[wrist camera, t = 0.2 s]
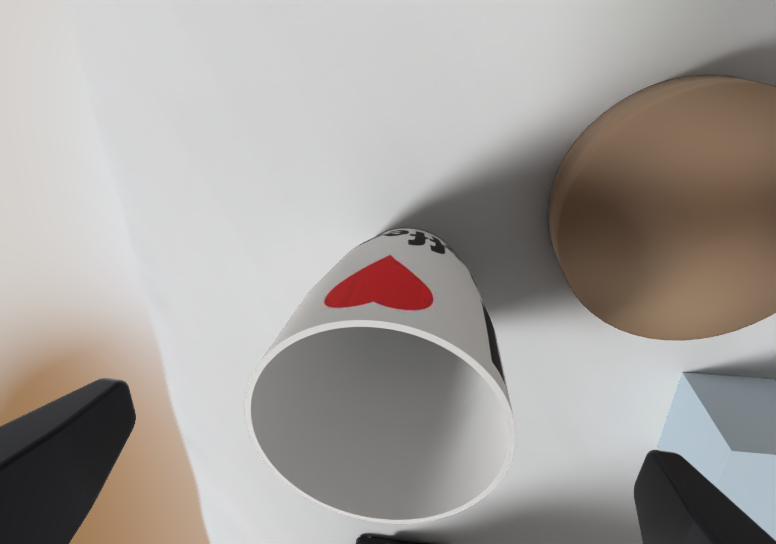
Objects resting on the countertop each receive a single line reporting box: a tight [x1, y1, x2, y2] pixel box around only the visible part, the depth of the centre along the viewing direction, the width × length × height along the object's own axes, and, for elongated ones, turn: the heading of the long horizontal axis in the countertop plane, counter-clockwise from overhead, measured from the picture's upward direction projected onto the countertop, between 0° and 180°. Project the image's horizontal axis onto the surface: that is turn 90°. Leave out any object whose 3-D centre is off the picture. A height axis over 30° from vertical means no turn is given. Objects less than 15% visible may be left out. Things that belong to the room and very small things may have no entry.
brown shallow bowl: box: [548, 75, 776, 340], centre depth 19 cm, size 10×10×2 cm
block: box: [657, 372, 776, 540], centre depth 22 cm, size 5×5×5 cm
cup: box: [244, 228, 516, 524], centre depth 19 cm, size 8×8×10 cm
